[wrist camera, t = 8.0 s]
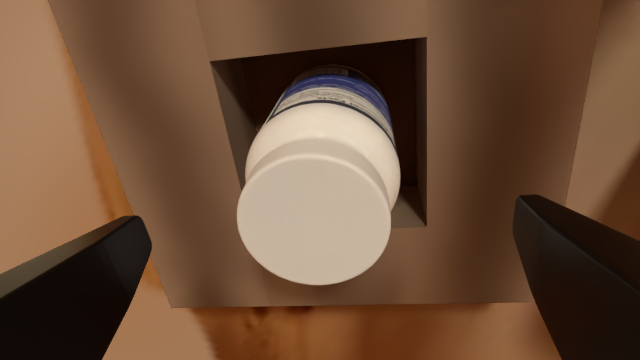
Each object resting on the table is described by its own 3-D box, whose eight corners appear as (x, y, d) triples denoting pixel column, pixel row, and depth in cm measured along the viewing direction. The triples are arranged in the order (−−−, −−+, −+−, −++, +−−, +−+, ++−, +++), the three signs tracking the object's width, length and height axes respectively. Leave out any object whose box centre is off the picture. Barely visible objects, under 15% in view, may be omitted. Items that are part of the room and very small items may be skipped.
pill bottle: (346, 185, 22) (334, 325, 14) (259, 130, 21) (185, 242, 12) (413, 104, 20) (452, 212, 11) (318, 36, 19) (277, 96, 10)
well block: (570, -131, 15) (632, -161, 11) (519, 251, 23) (547, 301, 20) (91, -52, 18) (24, -57, 14) (197, 262, 26) (171, 307, 23)
